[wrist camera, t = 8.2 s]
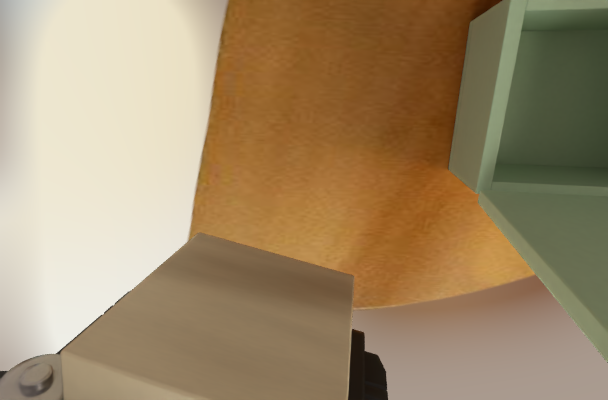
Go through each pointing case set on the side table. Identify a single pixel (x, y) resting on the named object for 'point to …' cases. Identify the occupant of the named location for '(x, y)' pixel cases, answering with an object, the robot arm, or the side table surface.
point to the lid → (561, 250)
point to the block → (219, 331)
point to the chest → (535, 99)
